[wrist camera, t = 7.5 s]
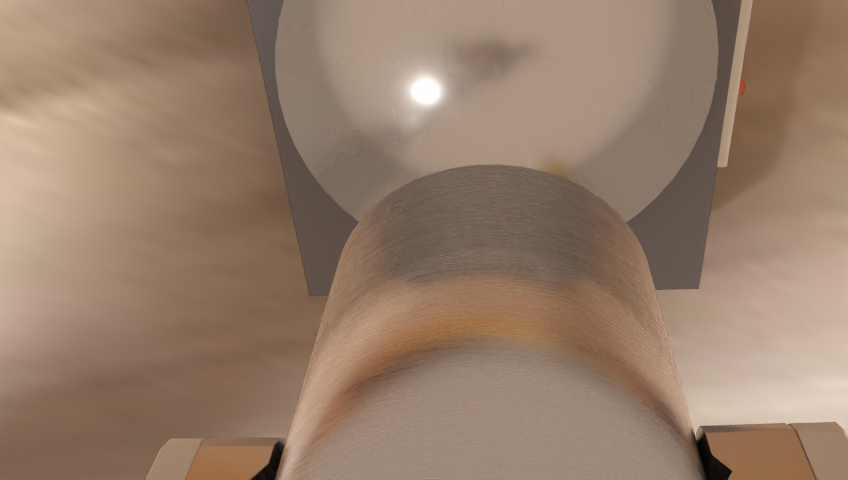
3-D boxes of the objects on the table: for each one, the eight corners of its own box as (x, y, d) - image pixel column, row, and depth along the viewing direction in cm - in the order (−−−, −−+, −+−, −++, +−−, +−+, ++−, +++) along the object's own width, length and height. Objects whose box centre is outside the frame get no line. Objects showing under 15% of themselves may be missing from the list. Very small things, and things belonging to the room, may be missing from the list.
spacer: (646, 407, 13) (734, 817, 8) (364, 415, 14) (290, 797, 9) (657, 151, 10) (799, 537, 6) (306, 177, 11) (153, 541, 6)
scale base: (695, 233, 25) (720, 294, 23) (326, 242, 27) (307, 301, 24) (766, -272, 18) (816, -270, 15) (240, -222, 19) (197, -212, 16)
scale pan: (687, 248, 22) (691, 260, 22) (317, 256, 23) (313, 268, 23) (744, -180, 16) (752, -177, 16) (239, -138, 17) (231, -134, 17)
